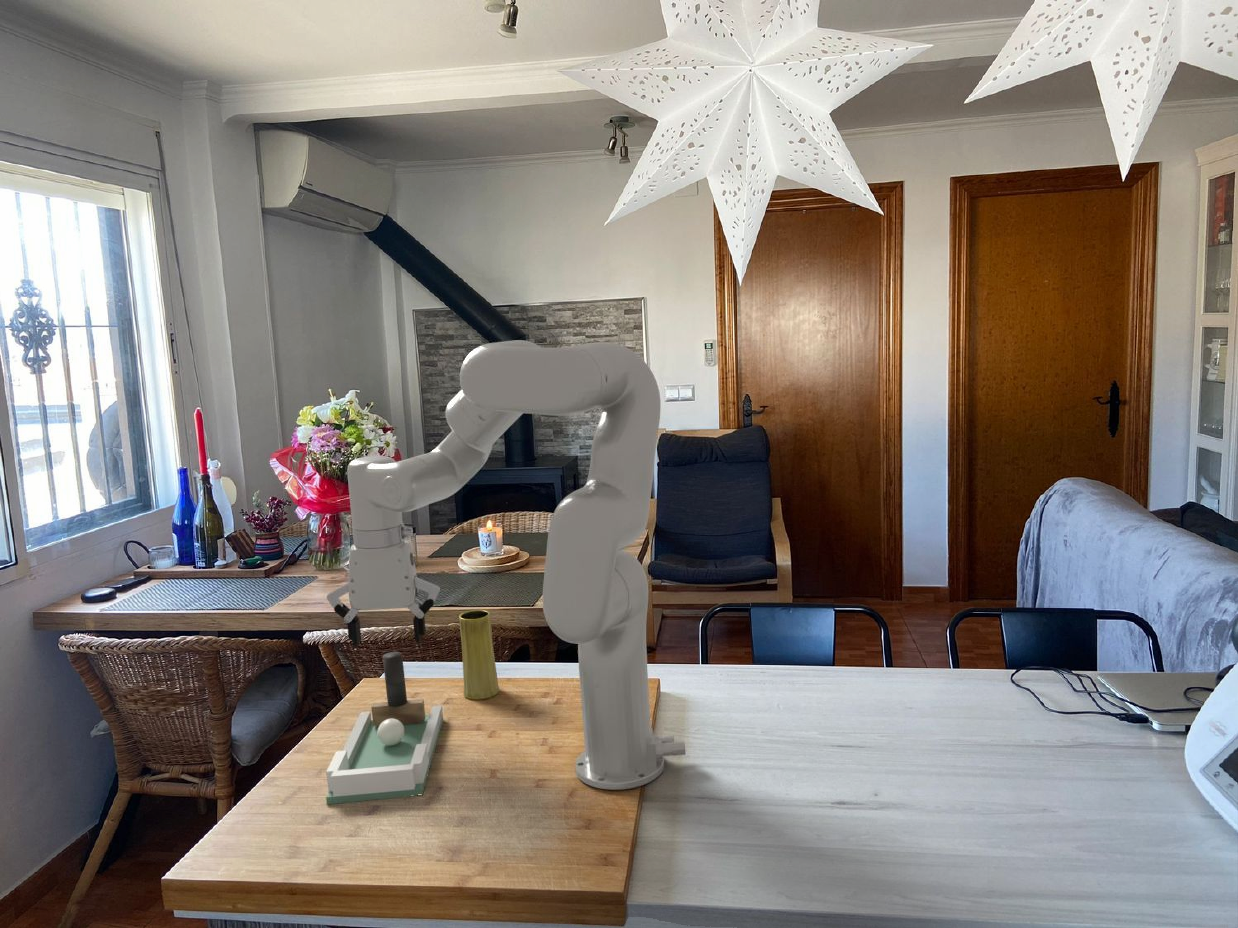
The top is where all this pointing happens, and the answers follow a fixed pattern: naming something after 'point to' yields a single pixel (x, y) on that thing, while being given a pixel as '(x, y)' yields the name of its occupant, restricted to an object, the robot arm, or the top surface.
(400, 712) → the striker
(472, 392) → the robot arm
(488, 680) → the vase
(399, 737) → the ball
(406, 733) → the pitch
